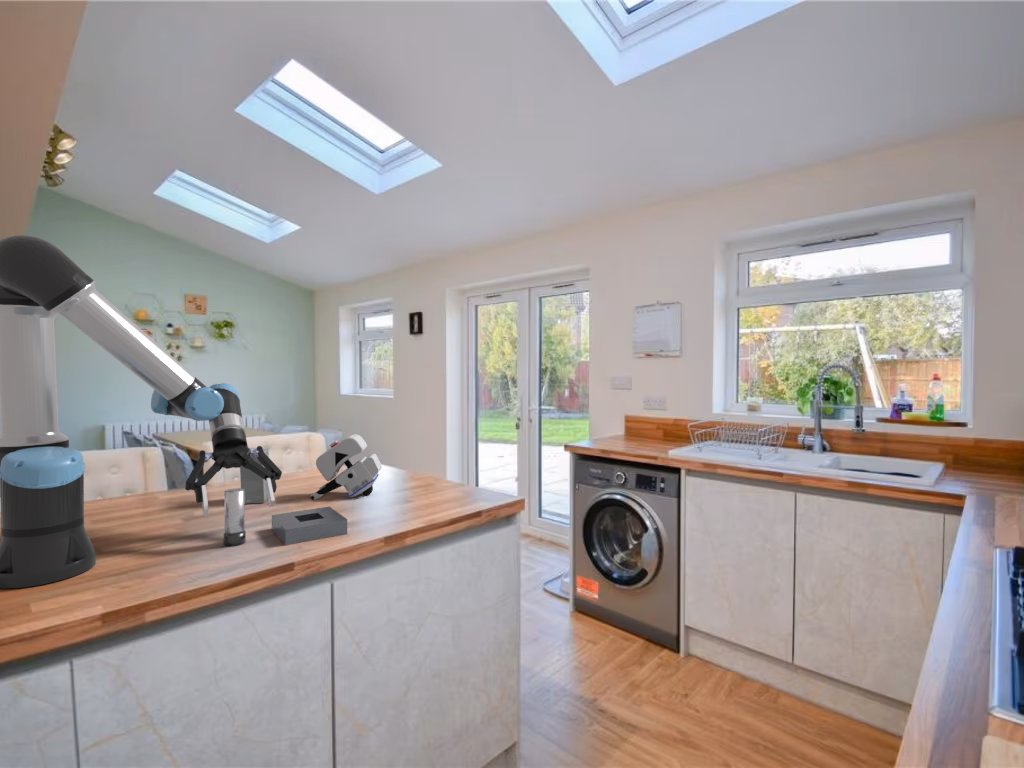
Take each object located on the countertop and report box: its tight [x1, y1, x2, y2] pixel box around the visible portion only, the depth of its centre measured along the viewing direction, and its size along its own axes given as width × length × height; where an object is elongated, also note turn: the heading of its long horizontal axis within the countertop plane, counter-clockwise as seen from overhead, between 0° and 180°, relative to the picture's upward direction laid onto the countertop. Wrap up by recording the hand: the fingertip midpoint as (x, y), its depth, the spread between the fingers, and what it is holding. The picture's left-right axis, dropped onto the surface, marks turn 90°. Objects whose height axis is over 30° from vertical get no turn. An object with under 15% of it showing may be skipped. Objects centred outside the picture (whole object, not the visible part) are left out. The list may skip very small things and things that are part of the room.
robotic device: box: [310, 433, 382, 501], centre depth 159 cm, size 10×21×20 cm
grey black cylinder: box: [222, 488, 247, 547], centre depth 114 cm, size 4×4×12 cm
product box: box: [239, 446, 270, 504], centre depth 151 cm, size 8×7×16 cm
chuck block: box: [271, 506, 348, 546], centre depth 123 cm, size 14×14×4 cm
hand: (240, 508), depth 116 cm, fingers open, 13 cm apart
